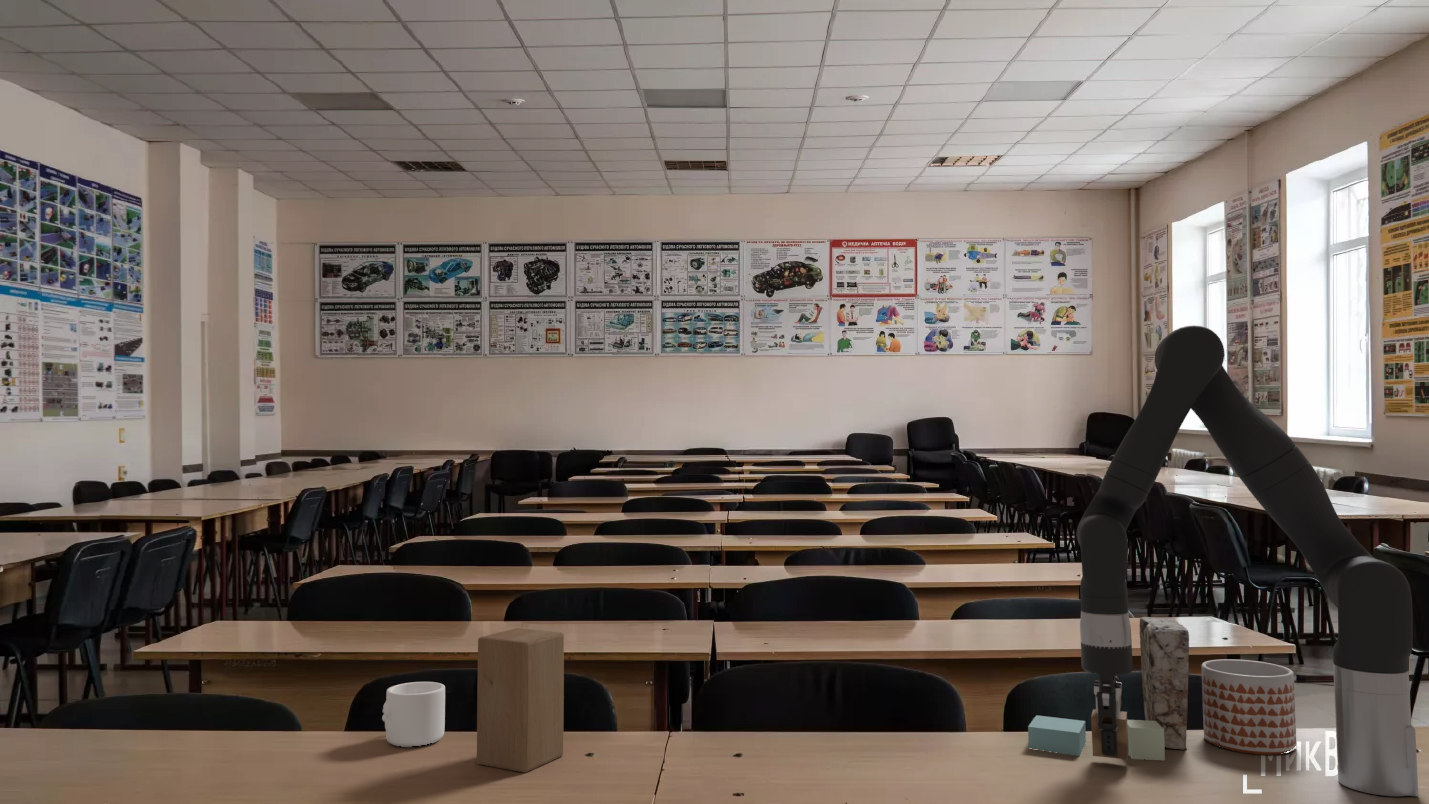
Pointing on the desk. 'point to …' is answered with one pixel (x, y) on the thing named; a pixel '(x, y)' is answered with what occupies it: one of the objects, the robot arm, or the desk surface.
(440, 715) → the mug
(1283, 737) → the planter
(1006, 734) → the desk surface
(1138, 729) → the sage block
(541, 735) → the wooden block
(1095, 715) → the walnut block
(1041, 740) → the teal pedestal
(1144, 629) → the stone block
